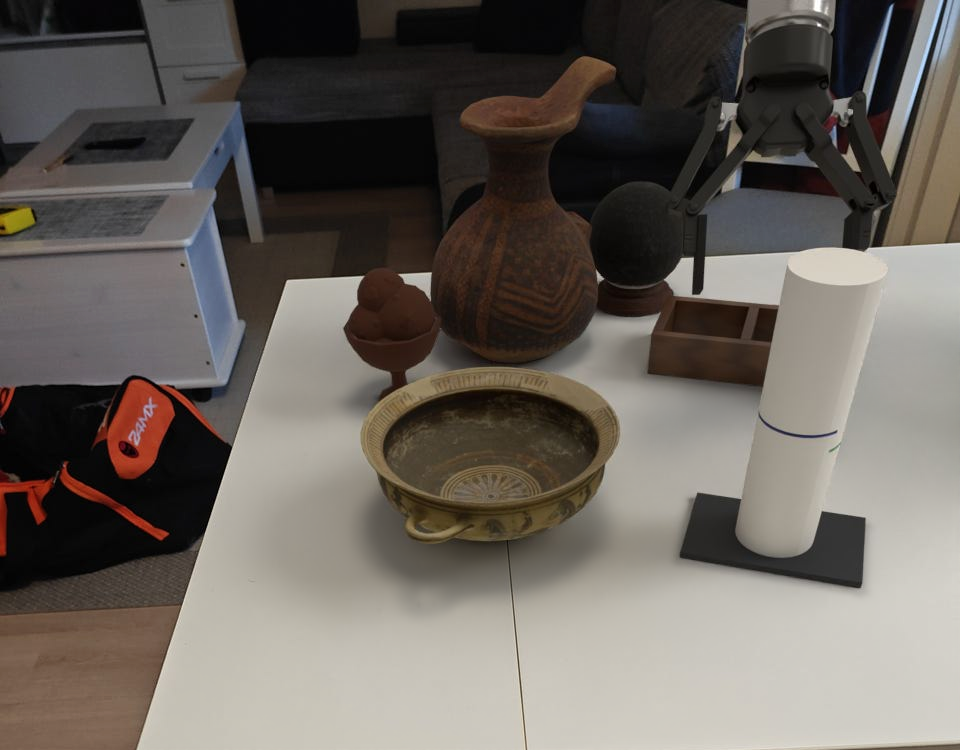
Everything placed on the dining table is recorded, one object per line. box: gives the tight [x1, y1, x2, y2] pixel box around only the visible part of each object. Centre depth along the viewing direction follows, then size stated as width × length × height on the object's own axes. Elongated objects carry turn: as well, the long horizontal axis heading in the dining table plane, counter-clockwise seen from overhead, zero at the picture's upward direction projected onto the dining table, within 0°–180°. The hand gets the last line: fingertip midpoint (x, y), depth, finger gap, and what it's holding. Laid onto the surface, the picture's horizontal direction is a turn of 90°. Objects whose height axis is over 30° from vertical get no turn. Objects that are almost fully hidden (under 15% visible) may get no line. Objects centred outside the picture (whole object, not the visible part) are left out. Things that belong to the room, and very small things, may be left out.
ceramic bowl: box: [360, 366, 621, 545], centre depth 85 cm, size 30×24×10 cm
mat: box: [679, 492, 867, 588], centre depth 83 cm, size 16×10×1 cm, turn 71°
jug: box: [429, 56, 617, 364], centre depth 105 cm, size 22×22×30 cm
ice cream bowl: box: [342, 267, 441, 403], centre depth 100 cm, size 11×11×15 cm
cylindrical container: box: [735, 247, 889, 558], centre depth 74 cm, size 7×7×25 cm
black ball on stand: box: [589, 180, 684, 317], centre depth 117 cm, size 13×13×15 cm
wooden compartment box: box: [647, 295, 779, 387], centre depth 106 cm, size 22×11×5 cm, turn 71°
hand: (771, 291), depth 82 cm, fingers open, 13 cm apart
